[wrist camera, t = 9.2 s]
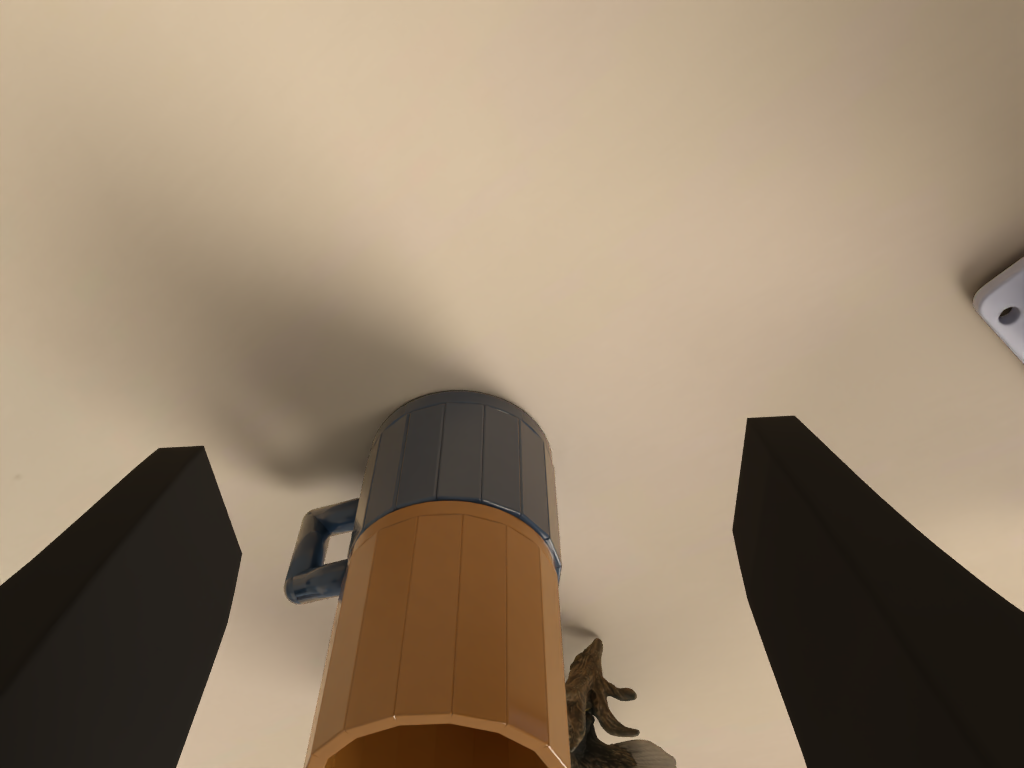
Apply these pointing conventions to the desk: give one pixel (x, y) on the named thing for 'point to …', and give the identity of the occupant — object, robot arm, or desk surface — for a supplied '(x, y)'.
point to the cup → (436, 479)
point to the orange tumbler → (445, 647)
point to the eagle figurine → (603, 720)
